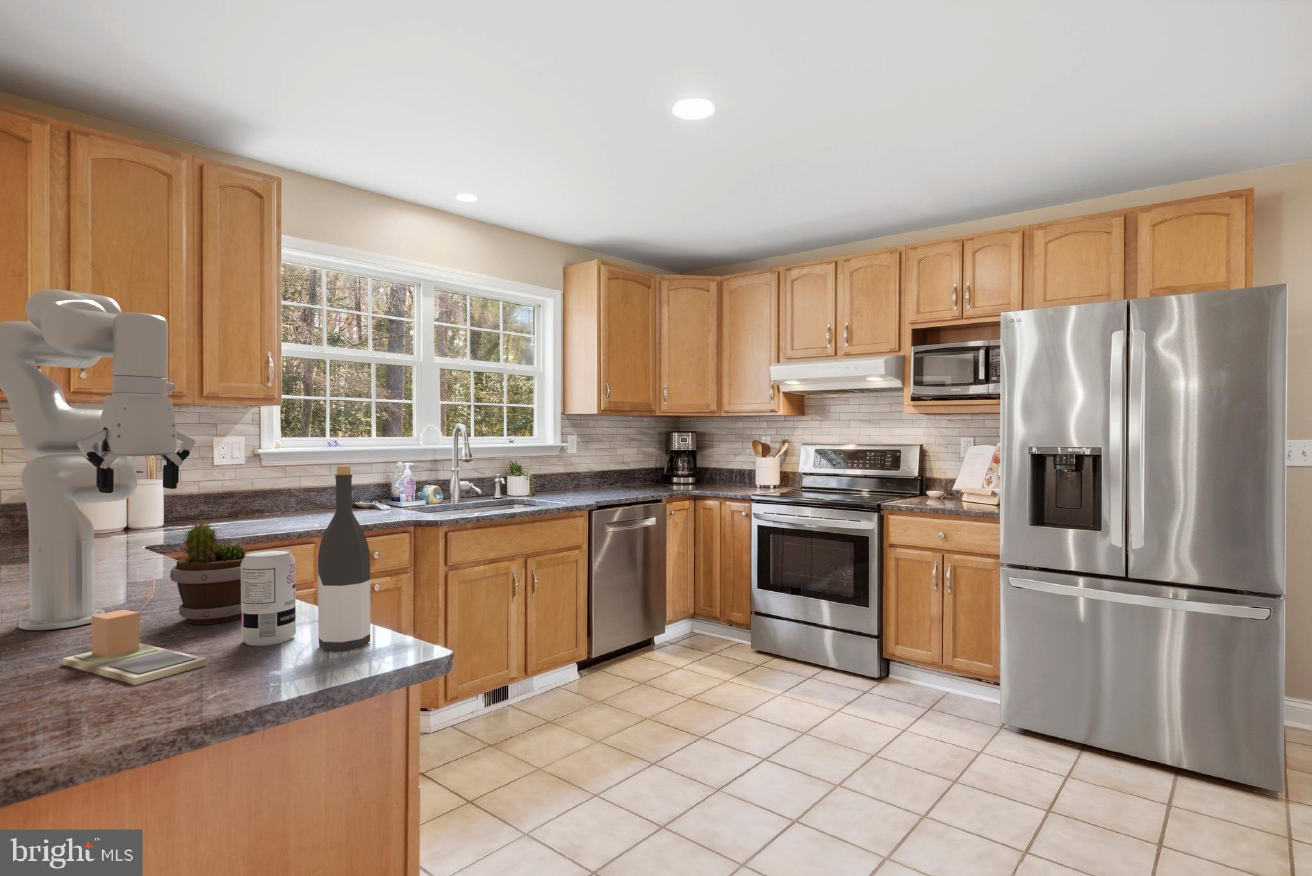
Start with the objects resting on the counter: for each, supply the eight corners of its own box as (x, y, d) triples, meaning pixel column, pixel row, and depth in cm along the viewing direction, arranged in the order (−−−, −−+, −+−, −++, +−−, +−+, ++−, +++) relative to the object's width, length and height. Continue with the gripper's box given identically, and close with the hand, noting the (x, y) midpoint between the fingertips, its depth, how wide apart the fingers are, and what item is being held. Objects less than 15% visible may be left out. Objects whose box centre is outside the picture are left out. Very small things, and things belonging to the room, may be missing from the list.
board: (63, 664, 113) (62, 656, 113) (134, 647, 121) (134, 640, 121) (135, 685, 103) (135, 676, 103) (206, 664, 112) (206, 657, 112)
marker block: (91, 654, 114) (91, 615, 114) (123, 646, 118) (123, 609, 118) (107, 658, 112) (107, 619, 112) (139, 650, 116) (139, 612, 116)
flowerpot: (221, 606, 150) (220, 509, 150) (278, 613, 145) (277, 512, 145) (151, 624, 136) (150, 517, 136) (210, 631, 131) (209, 520, 131)
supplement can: (234, 640, 125) (233, 553, 125) (285, 631, 131) (284, 547, 131) (251, 650, 120) (250, 558, 120) (303, 639, 126) (302, 552, 126)
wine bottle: (368, 649, 120) (367, 466, 120) (314, 653, 118) (313, 467, 117) (372, 636, 128) (371, 464, 127) (322, 640, 125) (321, 465, 125)
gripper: (182, 390, 131) (180, 485, 132) (67, 385, 116) (66, 492, 117) (206, 390, 128) (204, 488, 128) (91, 385, 113) (90, 496, 113)
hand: (139, 490), depth 122 cm, fingers open, 9 cm apart
